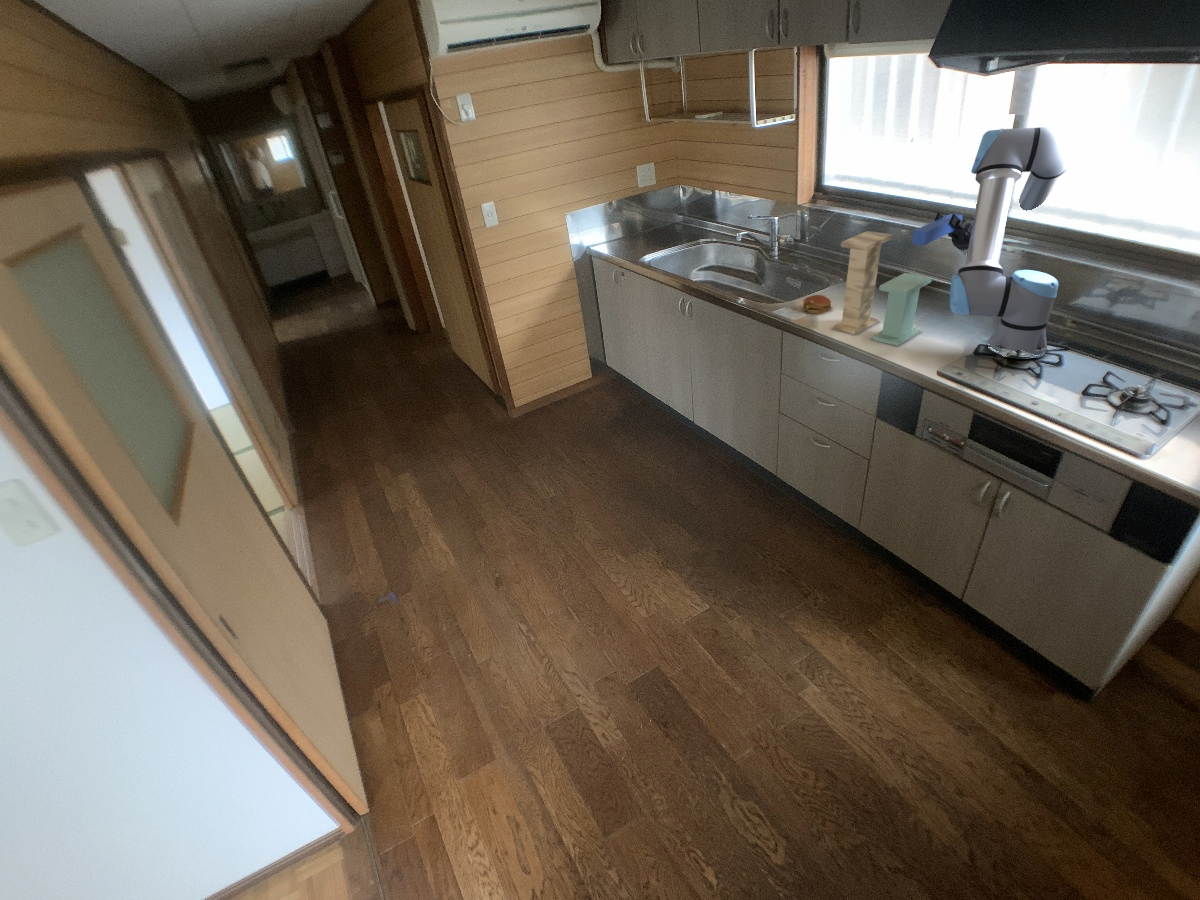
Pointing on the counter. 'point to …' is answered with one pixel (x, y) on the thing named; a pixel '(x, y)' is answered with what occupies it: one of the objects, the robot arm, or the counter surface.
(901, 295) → the low pedestal
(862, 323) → the tall pedestal
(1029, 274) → the robot arm
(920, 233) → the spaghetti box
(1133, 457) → the counter surface
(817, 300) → the burger
